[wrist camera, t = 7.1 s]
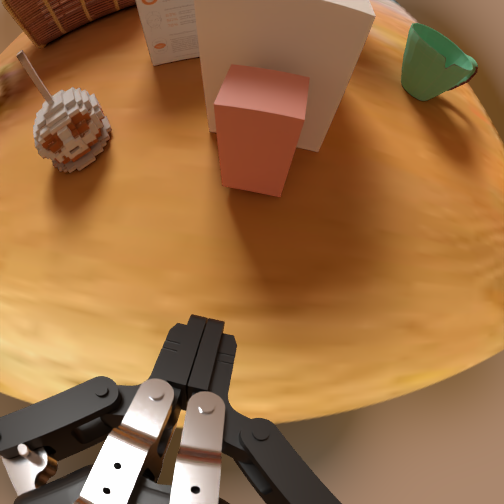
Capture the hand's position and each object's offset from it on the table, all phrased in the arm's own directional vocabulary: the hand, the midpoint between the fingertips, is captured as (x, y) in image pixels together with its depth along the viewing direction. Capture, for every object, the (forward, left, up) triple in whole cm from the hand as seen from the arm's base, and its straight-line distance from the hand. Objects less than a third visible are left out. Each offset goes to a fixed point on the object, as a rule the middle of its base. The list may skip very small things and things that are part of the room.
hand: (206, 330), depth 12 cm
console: (0, +25, -10) cm, 27 cm away
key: (0, +18, -9) cm, 20 cm away
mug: (+22, +37, -10) cm, 44 cm away
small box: (-14, +33, -10) cm, 37 cm away
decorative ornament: (-20, +15, -10) cm, 27 cm away
